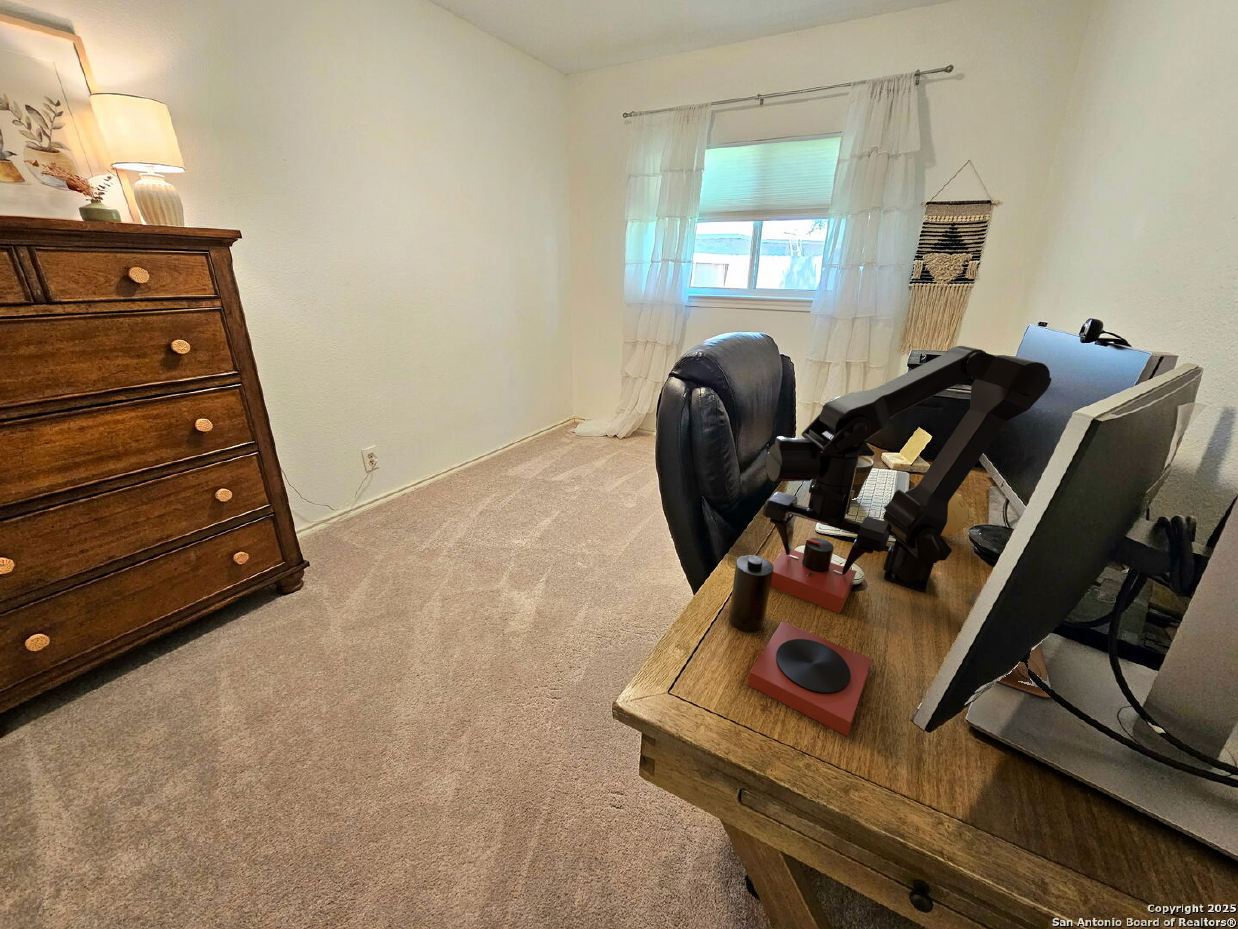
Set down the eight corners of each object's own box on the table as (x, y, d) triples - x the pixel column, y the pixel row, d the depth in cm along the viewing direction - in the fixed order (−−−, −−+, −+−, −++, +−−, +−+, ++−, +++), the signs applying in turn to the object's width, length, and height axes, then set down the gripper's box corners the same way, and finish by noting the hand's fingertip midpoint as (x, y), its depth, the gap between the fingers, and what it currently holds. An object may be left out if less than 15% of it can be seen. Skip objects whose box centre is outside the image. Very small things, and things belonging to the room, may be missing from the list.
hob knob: (832, 563, 82) (837, 541, 81) (825, 575, 79) (830, 553, 77) (806, 554, 85) (810, 533, 83) (798, 566, 81) (802, 544, 80)
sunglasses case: (1059, 701, 60) (1041, 654, 59) (991, 700, 64) (973, 656, 63) (1035, 618, 74) (1020, 580, 73) (980, 623, 78) (966, 586, 78)
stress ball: (893, 525, 102) (905, 482, 98) (928, 518, 105) (940, 476, 101) (936, 549, 93) (951, 503, 89) (972, 541, 96) (988, 496, 92)
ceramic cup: (824, 485, 120) (832, 447, 116) (868, 496, 114) (877, 457, 110) (809, 504, 110) (817, 463, 106) (856, 517, 104) (866, 475, 101)
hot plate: (868, 671, 64) (872, 657, 63) (847, 736, 55) (851, 720, 54) (779, 633, 71) (782, 619, 70) (747, 685, 62) (750, 670, 61)
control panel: (855, 580, 83) (859, 565, 82) (839, 613, 75) (843, 597, 74) (786, 556, 89) (788, 542, 88) (764, 584, 81) (767, 568, 80)
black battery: (771, 624, 72) (782, 563, 68) (746, 637, 69) (756, 575, 65) (745, 605, 76) (754, 546, 72) (721, 616, 74) (729, 556, 69)
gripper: (907, 478, 77) (884, 561, 83) (790, 452, 87) (777, 527, 93) (896, 503, 68) (871, 593, 74) (768, 470, 78) (755, 552, 84)
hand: (815, 563), depth 82 cm, fingers open, 9 cm apart
